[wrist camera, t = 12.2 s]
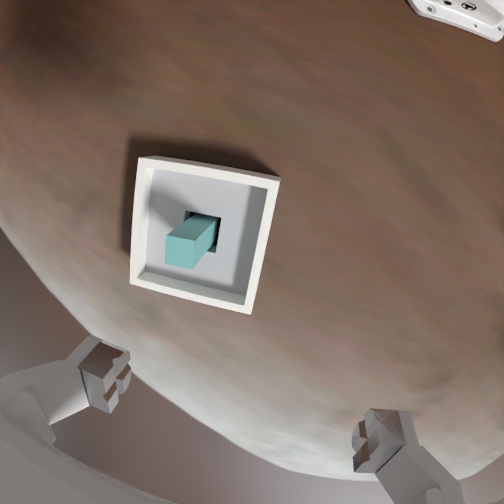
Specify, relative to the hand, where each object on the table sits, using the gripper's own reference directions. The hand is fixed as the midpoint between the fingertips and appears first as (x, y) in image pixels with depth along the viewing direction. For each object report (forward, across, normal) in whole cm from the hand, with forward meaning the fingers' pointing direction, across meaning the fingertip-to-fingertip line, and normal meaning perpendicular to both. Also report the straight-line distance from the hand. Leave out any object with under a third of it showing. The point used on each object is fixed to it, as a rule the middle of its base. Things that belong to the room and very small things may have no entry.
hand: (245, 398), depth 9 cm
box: (+29, +9, +5) cm, 31 cm away
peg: (+29, +9, +5) cm, 31 cm away
